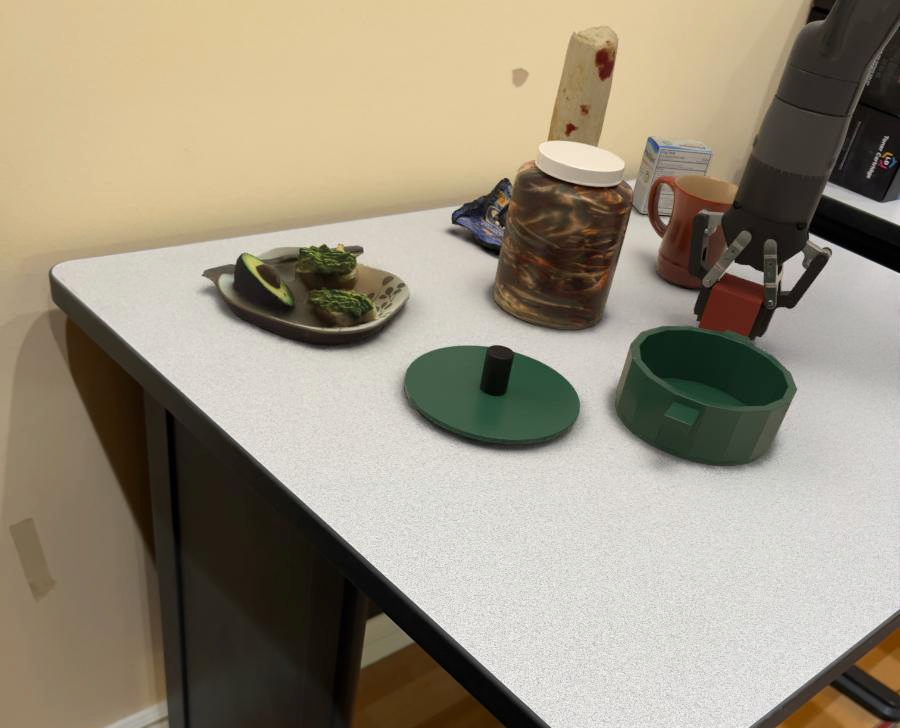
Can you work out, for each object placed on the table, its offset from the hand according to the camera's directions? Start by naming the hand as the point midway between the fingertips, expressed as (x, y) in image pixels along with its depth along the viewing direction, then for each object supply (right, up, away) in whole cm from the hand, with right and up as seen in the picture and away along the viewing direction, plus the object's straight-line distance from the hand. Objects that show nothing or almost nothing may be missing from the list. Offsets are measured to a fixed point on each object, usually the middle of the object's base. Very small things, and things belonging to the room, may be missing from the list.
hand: (726, 327), depth 93 cm
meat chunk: (0, -1, +1) cm, 2 cm away
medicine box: (0, +25, +29) cm, 38 cm away
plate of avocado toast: (-43, 0, -6) cm, 43 cm away
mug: (-2, +11, +13) cm, 17 cm away
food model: (-14, +26, +27) cm, 40 cm away
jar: (-19, +3, +2) cm, 19 cm away
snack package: (-23, +15, +14) cm, 31 cm away
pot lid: (-25, -10, -15) cm, 31 cm away
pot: (-7, -12, -12) cm, 18 cm away
